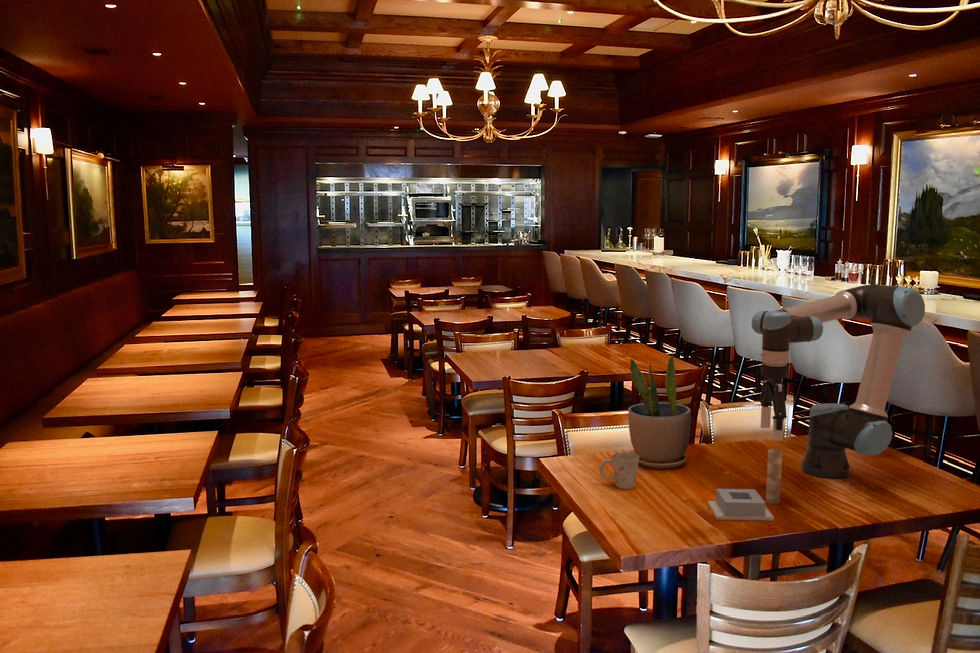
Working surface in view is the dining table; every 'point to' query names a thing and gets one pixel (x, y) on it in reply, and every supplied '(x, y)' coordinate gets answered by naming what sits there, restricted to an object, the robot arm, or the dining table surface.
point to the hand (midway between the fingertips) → (771, 433)
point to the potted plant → (658, 422)
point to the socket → (739, 505)
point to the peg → (774, 476)
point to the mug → (623, 469)
